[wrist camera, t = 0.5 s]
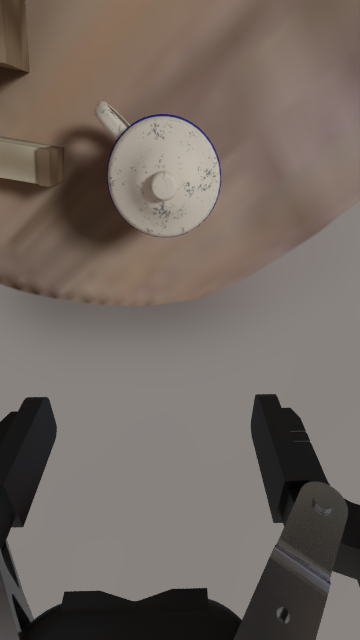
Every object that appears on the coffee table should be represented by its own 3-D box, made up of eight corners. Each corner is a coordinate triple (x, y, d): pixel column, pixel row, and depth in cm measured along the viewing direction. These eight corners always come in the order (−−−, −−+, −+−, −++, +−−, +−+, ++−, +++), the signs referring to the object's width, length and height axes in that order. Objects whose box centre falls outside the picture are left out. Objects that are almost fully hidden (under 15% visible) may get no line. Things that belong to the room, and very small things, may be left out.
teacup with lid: (228, 169, 34) (252, 186, 24) (167, 232, 37) (165, 271, 27) (140, 65, 29) (124, 32, 19) (79, 147, 32) (37, 155, 22)
